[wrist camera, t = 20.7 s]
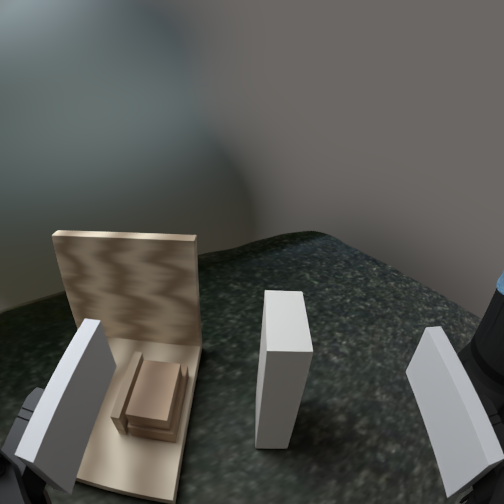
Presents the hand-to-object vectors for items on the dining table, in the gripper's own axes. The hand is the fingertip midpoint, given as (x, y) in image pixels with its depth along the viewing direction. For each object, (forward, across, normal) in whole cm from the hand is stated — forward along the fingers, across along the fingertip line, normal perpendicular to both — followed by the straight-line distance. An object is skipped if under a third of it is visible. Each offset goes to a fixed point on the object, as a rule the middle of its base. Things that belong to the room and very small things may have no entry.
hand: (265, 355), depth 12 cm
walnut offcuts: (+12, -11, -23) cm, 28 cm away
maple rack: (+12, -17, -24) cm, 32 cm away
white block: (+12, +2, -24) cm, 27 cm away
